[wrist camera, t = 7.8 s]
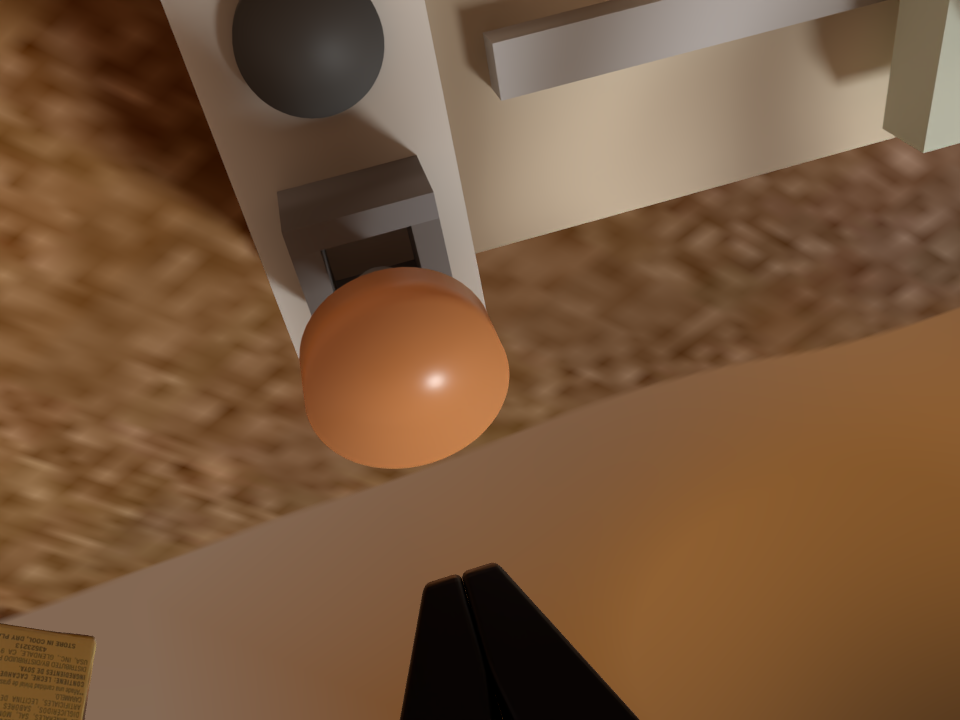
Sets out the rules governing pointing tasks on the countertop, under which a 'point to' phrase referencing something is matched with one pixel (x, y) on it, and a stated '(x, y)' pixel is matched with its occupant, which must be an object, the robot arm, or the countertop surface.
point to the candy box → (44, 674)
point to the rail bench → (509, 116)
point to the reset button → (401, 368)
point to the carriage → (925, 75)
